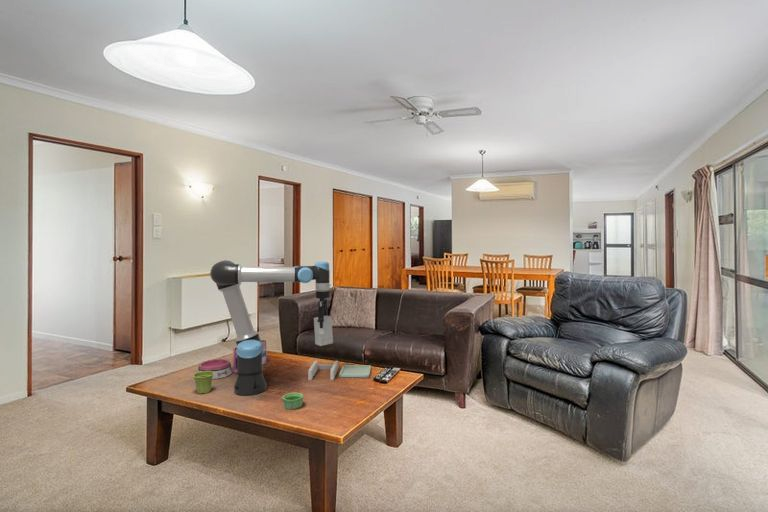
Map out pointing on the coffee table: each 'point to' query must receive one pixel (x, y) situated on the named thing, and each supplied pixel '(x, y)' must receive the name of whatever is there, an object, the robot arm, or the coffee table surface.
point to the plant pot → (203, 381)
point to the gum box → (264, 356)
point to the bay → (317, 366)
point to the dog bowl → (216, 368)
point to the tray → (355, 371)
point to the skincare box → (328, 334)
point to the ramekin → (292, 400)
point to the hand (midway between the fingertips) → (323, 331)
